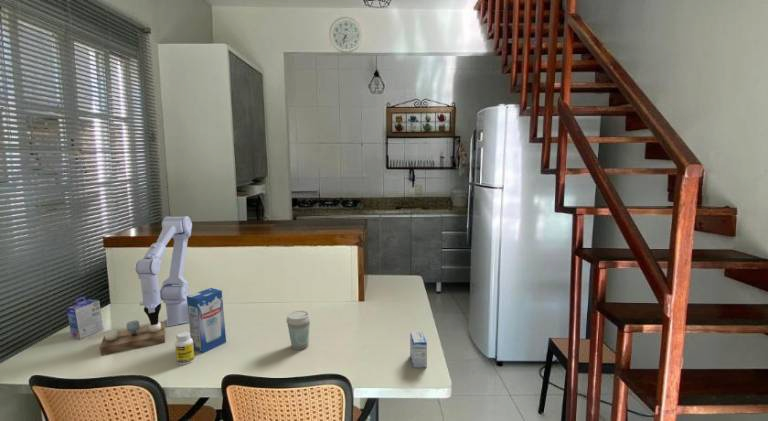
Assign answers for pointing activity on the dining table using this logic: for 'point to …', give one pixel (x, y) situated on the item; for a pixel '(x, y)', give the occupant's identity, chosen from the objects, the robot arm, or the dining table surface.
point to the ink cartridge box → (84, 318)
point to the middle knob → (133, 326)
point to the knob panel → (133, 340)
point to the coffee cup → (299, 329)
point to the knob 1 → (111, 335)
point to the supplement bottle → (184, 348)
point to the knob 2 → (155, 327)
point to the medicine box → (418, 349)
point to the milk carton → (206, 319)
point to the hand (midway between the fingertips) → (154, 324)
